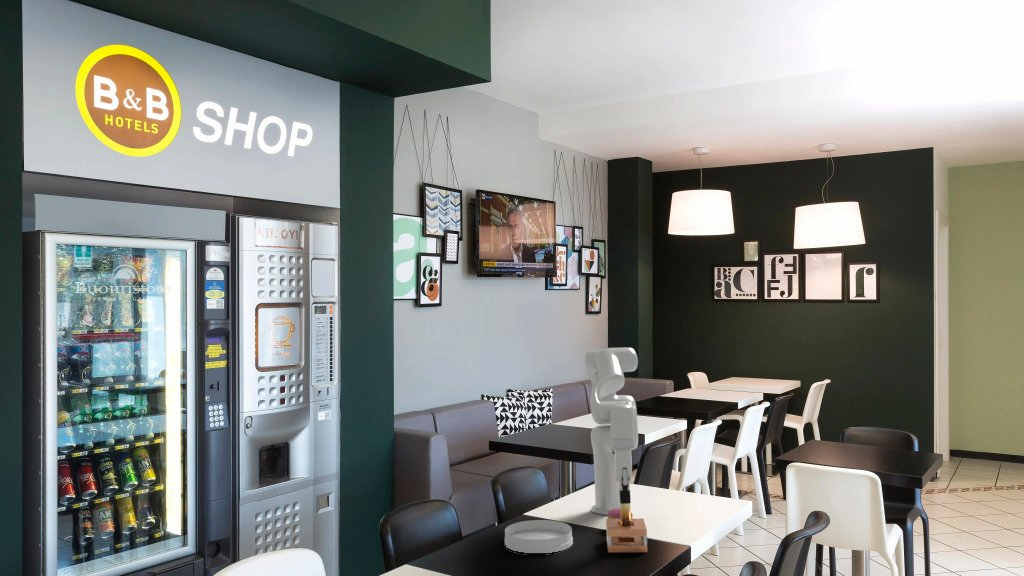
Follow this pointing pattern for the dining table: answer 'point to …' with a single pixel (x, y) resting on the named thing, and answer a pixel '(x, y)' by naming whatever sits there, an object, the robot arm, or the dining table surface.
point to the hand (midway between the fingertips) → (625, 501)
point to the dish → (538, 536)
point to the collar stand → (626, 536)
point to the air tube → (625, 511)
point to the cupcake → (615, 514)
